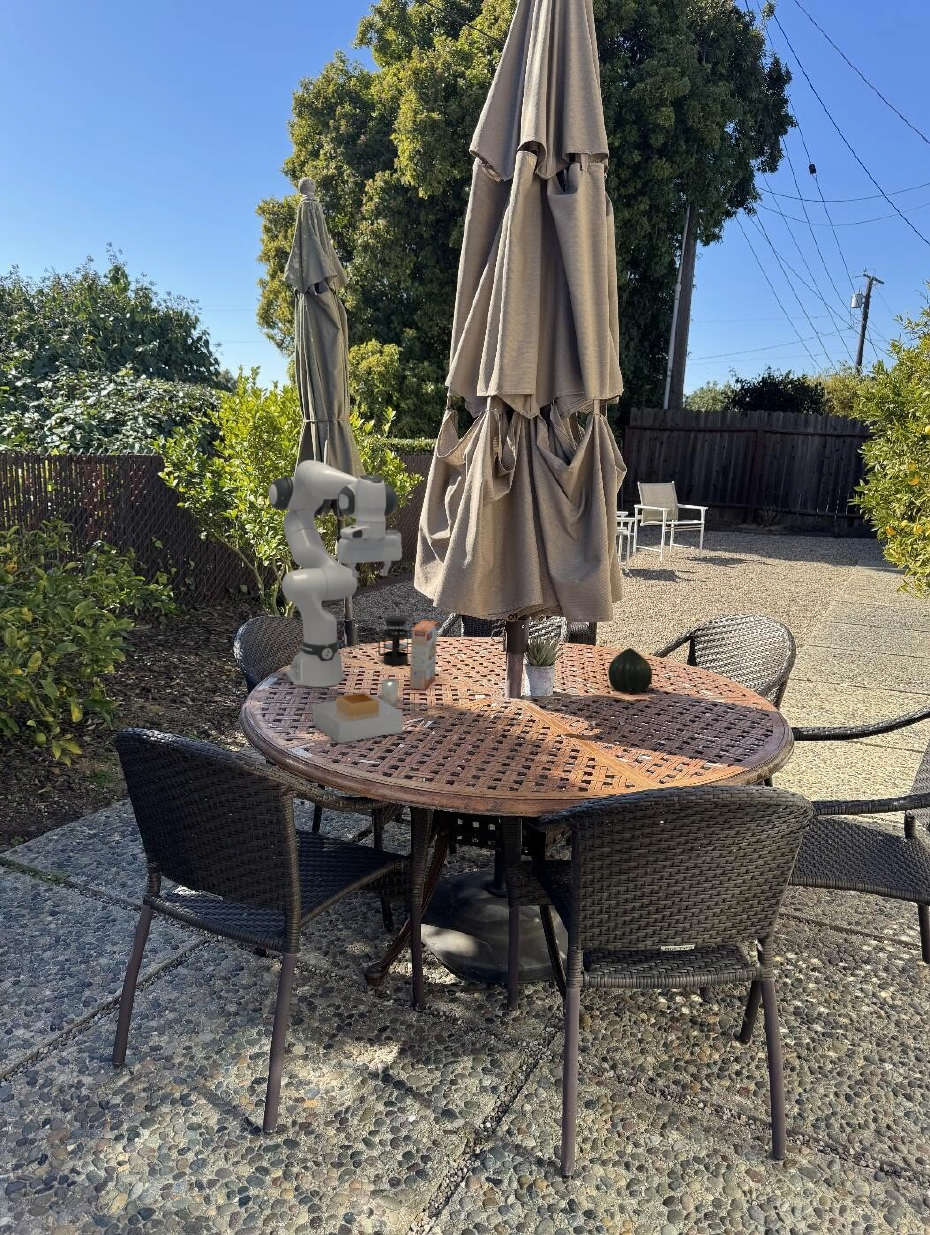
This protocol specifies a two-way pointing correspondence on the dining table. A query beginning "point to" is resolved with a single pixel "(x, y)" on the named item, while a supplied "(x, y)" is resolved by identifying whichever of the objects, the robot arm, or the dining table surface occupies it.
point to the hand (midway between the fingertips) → (369, 576)
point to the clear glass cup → (390, 691)
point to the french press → (395, 640)
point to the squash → (630, 672)
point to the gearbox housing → (357, 718)
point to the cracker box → (423, 655)
